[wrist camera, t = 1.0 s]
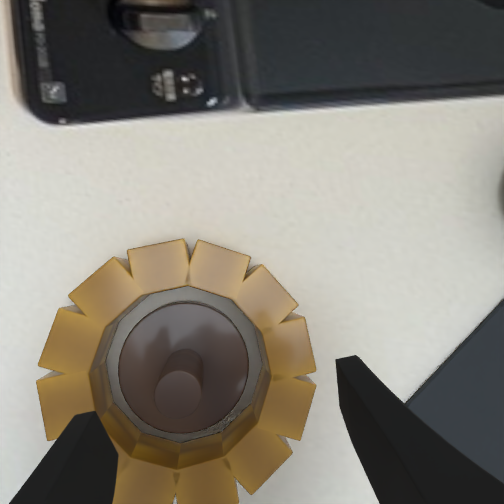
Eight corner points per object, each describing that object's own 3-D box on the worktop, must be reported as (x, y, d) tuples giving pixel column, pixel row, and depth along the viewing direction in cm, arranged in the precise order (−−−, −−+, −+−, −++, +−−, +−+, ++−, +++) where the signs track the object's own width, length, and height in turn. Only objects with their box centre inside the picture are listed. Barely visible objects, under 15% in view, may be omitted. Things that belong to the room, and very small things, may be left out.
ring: (175, 536, 21) (170, 579, 18) (9, 358, 20) (-24, 372, 17) (344, 365, 22) (365, 379, 19) (195, 199, 22) (193, 187, 19)
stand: (180, 451, 21) (170, 520, 15) (96, 360, 21) (51, 393, 15) (270, 364, 22) (294, 396, 16) (191, 276, 22) (185, 275, 16)
